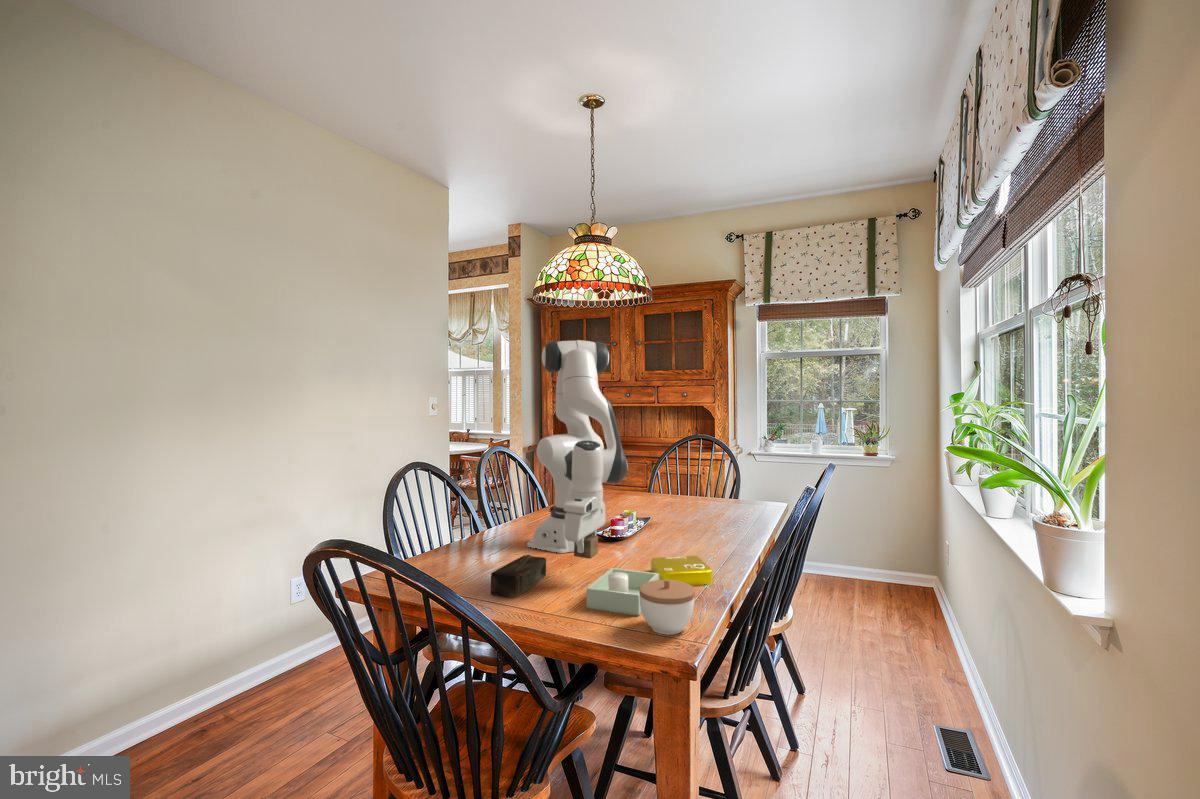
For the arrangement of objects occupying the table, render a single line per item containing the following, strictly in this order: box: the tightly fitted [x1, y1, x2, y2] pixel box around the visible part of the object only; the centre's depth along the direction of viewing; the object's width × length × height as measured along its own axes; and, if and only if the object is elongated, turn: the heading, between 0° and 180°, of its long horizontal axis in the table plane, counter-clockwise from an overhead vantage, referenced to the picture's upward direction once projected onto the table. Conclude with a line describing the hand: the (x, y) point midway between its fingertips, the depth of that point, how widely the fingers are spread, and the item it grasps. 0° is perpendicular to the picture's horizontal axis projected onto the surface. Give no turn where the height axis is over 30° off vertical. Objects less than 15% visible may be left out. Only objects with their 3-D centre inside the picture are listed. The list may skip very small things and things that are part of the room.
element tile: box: [650, 555, 713, 586], centre depth 168 cm, size 15×15×5 cm
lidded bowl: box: [639, 579, 696, 636], centre depth 133 cm, size 13×13×11 cm
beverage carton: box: [490, 554, 547, 599], centre depth 162 cm, size 8×19×7 cm, turn 159°
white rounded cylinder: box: [608, 572, 629, 593], centre depth 147 cm, size 5×5×7 cm
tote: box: [586, 567, 659, 617], centre depth 151 cm, size 14×18×5 cm
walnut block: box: [573, 535, 599, 560], centre depth 162 cm, size 5×5×5 cm
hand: (586, 549), depth 162 cm, fingers closed on walnut block, 5 cm apart
